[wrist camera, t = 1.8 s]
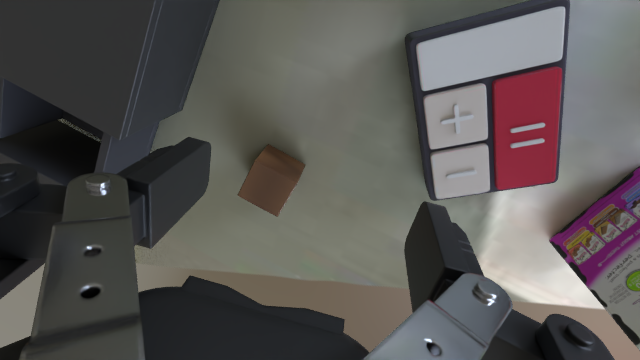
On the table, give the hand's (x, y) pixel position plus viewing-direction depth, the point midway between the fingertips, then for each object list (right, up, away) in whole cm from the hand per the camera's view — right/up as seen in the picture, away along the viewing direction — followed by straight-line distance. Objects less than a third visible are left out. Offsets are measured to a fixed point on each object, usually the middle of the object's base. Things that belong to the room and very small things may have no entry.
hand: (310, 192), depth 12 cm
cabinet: (-16, +16, +18) cm, 29 cm away
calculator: (+15, +7, +18) cm, 24 cm away
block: (-4, +1, +24) cm, 24 cm away
